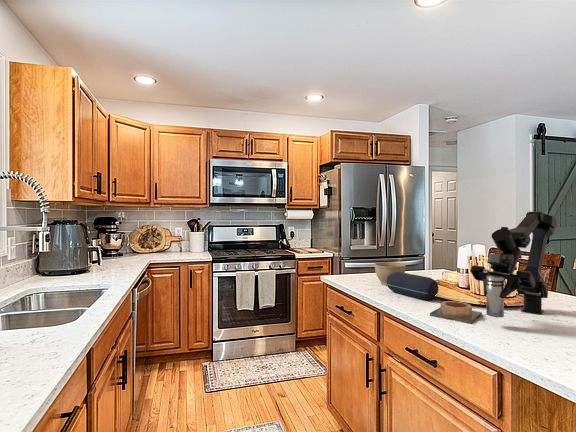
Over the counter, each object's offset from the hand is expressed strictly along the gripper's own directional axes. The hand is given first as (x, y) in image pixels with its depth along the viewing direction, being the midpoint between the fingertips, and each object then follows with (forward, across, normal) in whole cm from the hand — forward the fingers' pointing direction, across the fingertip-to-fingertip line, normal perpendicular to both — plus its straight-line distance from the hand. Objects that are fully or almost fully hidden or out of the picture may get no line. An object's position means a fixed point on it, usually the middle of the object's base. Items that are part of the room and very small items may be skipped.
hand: (493, 296), depth 115 cm
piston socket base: (+5, -15, +10) cm, 18 cm away
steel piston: (+4, 0, +6) cm, 7 cm away
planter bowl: (-14, -66, +29) cm, 73 cm away
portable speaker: (-4, -43, +20) cm, 47 cm away
